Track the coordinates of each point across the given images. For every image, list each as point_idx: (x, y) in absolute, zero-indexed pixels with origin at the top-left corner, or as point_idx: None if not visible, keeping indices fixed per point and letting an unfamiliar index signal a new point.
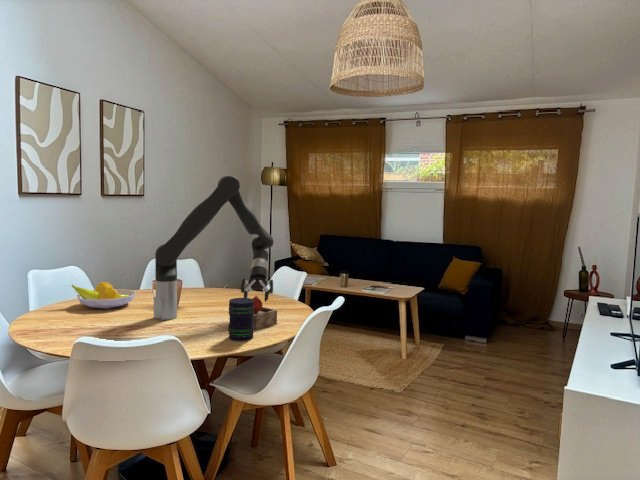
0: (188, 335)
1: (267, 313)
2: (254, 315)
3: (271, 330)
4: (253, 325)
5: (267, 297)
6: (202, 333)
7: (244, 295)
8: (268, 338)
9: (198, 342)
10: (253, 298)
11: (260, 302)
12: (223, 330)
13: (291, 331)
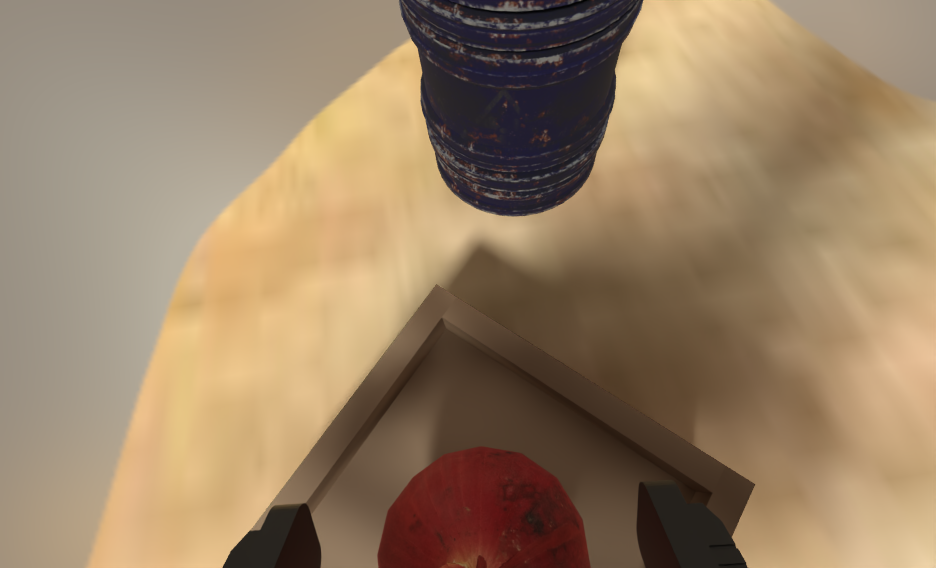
0: (882, 126)
1: (327, 434)
2: (453, 295)
3: (326, 328)
4: (421, 91)
5: (238, 549)
6: (814, 179)
7: (725, 555)
8: (338, 157)
9: (733, 32)
10: (518, 545)
11: (394, 515)
12: (698, 269)
13: (174, 326)
